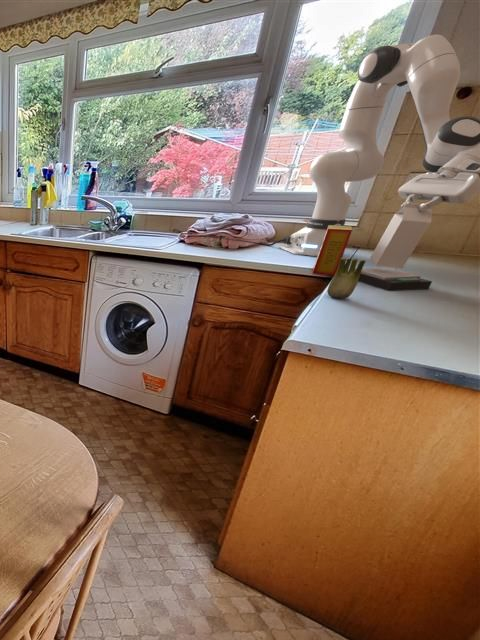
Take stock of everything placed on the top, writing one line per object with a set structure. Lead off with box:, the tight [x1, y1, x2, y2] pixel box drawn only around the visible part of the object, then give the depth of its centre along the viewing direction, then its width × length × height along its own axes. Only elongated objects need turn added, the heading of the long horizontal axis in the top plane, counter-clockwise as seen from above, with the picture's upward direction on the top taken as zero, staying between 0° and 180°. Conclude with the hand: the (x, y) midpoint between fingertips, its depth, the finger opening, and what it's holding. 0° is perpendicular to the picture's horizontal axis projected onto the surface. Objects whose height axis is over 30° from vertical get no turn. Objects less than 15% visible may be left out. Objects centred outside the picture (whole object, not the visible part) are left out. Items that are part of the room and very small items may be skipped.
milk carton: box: [369, 203, 435, 269], centre depth 139 cm, size 7×7×19 cm
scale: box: [354, 267, 433, 291], centre depth 143 cm, size 16×13×3 cm
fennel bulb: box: [327, 257, 367, 300], centre depth 129 cm, size 6×5×12 cm
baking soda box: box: [312, 225, 353, 277], centre depth 155 cm, size 10×6×16 cm
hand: (411, 209), depth 135 cm, fingers closed on milk carton, 4 cm apart
